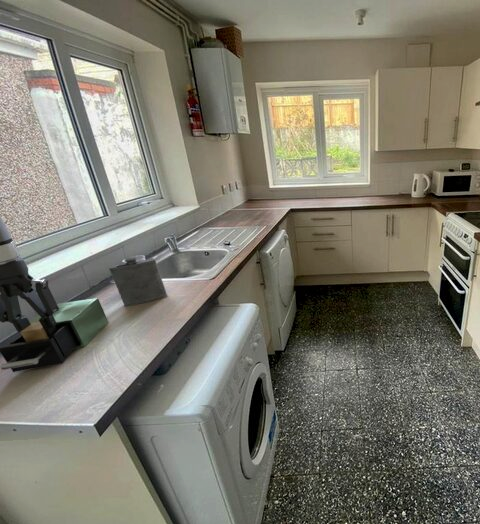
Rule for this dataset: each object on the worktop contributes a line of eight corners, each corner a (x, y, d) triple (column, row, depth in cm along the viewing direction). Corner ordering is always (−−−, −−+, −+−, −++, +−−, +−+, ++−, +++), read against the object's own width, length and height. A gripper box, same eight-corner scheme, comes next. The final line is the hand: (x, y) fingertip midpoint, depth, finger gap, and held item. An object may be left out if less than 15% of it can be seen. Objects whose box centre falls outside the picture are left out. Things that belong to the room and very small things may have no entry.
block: (28, 345, 78) (20, 332, 76) (40, 336, 82) (33, 322, 80) (47, 342, 79) (40, 328, 77) (59, 333, 83) (52, 319, 81)
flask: (166, 297, 113) (152, 255, 106) (123, 307, 107) (104, 263, 101) (167, 294, 116) (153, 252, 109) (125, 303, 111) (107, 260, 104)
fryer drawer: (51, 374, 75) (37, 350, 72) (-1, 384, 72) (-18, 359, 69) (89, 336, 90) (79, 315, 87) (47, 343, 87) (35, 321, 84)
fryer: (84, 346, 86) (71, 320, 83) (35, 355, 84) (19, 327, 80) (108, 322, 99) (98, 297, 95) (66, 328, 96) (53, 304, 92)
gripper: (52, 251, 76) (87, 325, 85) (-29, 260, 73) (17, 336, 82) (30, 261, 69) (71, 340, 78) (-60, 272, 66) (-7, 353, 75)
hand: (43, 338), depth 80 cm, fingers closed on block, 4 cm apart
